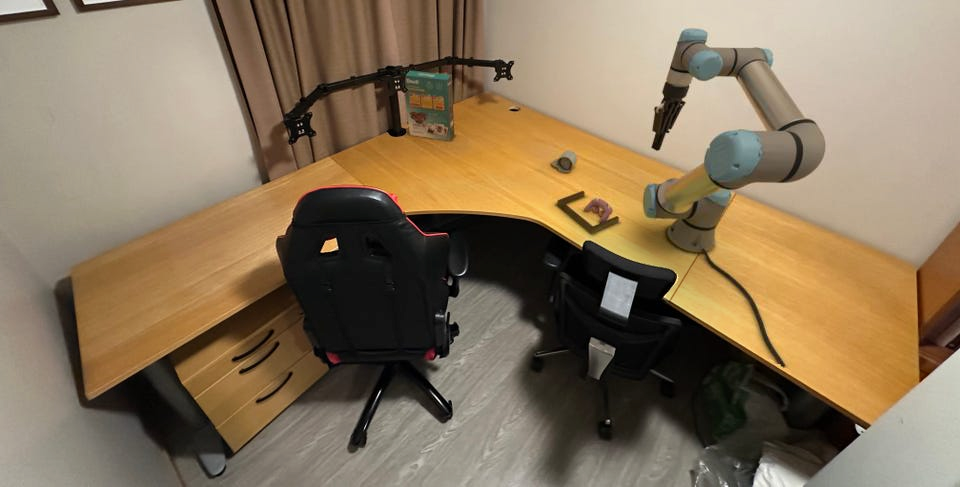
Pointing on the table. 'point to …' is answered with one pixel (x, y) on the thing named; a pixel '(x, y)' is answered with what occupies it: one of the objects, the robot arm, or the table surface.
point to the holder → (578, 218)
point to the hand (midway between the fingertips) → (655, 148)
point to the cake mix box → (430, 105)
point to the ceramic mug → (565, 161)
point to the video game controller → (596, 204)
